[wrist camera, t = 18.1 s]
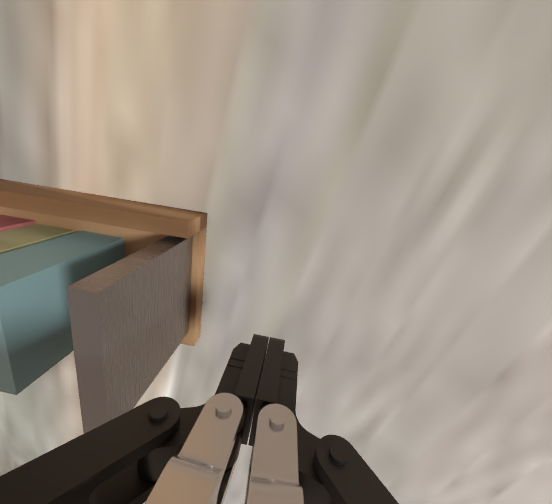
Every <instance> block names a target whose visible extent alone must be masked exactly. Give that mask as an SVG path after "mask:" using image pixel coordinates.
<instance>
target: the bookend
mask: <svg viewBox="0 0 552 504" xmlns="http://www.w3.org/2000/svg"><path fill="white" fill-rule="evenodd" d="M192 246H193V236H191V237H190V238H182V237H176V236H170V235H169V236H167V237H165V238H163V239H161V240H159V241H157V242H155V243H153V244H151V245H149V246H147V247H145V248H143V249H141V250H139V251H137V252H135V253H133V254H131V255H129V256H127V257H125V258H123V259H121V260H119V261H117V262H115V263H113V264H111V265H109V266H107V267H105V268H103V269H101V270H99V271H97V272H95V273H93V274H91V275H89V276H87V277H85V278H83V279H81V280H79V281H77V282H75V283H73V284H71V285H69V286H67V287H66V290H67V298H68V306H69V314H70V323H71V331H72V339H73V348H74V356H75V364H76V373H77V381H78V389H79V398H80V406H81V414H82V422H83V431H84V434H85V433H87V432H89V431H91V430H93V429H95V428H96V427H98V426H100V425H102V424H104V423H106V422H108V421H110V420H112V419H114V418H116V417H118V416H120V415H122V414H124V413H126V412H128V411H130V410H132V409H133V408H134V406H135V405H136V404H137V402H138V401H139V399H140V398H141V397H142V395H143V394H144V393H145V391H146V390H147V388H148V387H149V386H150V384H151V383H152V382H153V380H154V379H155V377H156V376H157V375H158V373H159V372H160V370H161V369H162V368H163V366H164V365H165V364H166V362H167V361H168V359H169V358H170V357H171V355H172V354H173V352H174V351H175V350H176V348H177V347H178V346H179V344H180V343H181V341H182V340H183V339H184V337H185V336H186V335H187V333H188V332H189V316H190V293H191V270H192Z"/></svg>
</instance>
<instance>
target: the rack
mask: <svg viewBox="0 0 552 504" xmlns="http://www.w3.org/2000/svg"><path fill="white" fill-rule="evenodd" d="M206 225H207V213H203V212H197V211H191V210H185V209H179V208H173V207H167V206H161V205H154V204H148V203H142V202H136V201H130V200H124V199H118V198H112V197H106V196H100V195H94V194H88V193H81V192H75V191H69V190H63V189H57V188H51V187H45V186H39V185H33V184H27V183H21V182H15V181H8V180H2V179H0V254H3V253H6V252H10V251H13V250H17V249H20V248H24V247H27V246H30V245H34V244H37V243H41V242H44V241H48V240H51V239H55V238H58V237H62V236H65V235H68V234H72V233H75V232H79V231H82V230H83V231H89V232H94V233H100V234H105V235H111V236H116V237H122V238H124V248H125V257H127V256H129V255H131V254H133V253H135V252H137V251H139V250H141V249H143V248H145V247H147V246H149V245H151V244H153V243H155V242H157V241H159V240H161V239H163V238H165V237H167V236H169V235H170V236H176V237H182V238H190V237H191V236H193V246H192V270H191V293H190V316H189V332H188V333H187V335H186V336H185V337H184V339H183V340H182V341H181V344H186V345H191V346H194V345H195V343H196V342H197V340H198V339H199V337H200V327H201V310H202V293H203V276H204V259H205V242H206Z"/></svg>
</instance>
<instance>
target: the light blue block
mask: <svg viewBox="0 0 552 504" xmlns="http://www.w3.org/2000/svg"><path fill="white" fill-rule="evenodd" d="M123 258H125V248H124V238H122V237H116V236H111V235H105V234H100V233H94V232H89V231H83V230H82V231H79V232H75V233H72V234H68V235H65V236H62V237H58V238H55V239H51V240H48V241H44V242H41V243H37V244H34V245H30V246H27V247H24V248H20V249H17V250H13V251H10V252H6V253H3V254H0V391H1V392H6V393H10V394H15V395H17V394H18V393H20V392H21V391H22V390H24V389H25V388H26V387H27V386H29V385H30V384H31V383H32V382H34V381H35V380H36V379H37V378H39V377H40V376H41V375H43V374H44V373H45V372H46V371H48V370H49V369H50V368H51V367H53V366H54V365H55V364H57V363H58V362H59V361H60V360H62V359H63V358H64V357H65V356H67V355H68V354H69V353H71V352H72V351H73V350H74V348H73V339H72V331H71V323H70V314H69V306H68V298H67V290H66V287H67V286H69V285H71V284H73V283H75V282H77V281H79V280H81V279H83V278H85V277H87V276H89V275H91V274H93V273H95V272H97V271H99V270H101V269H103V268H105V267H107V266H109V265H111V264H113V263H115V262H117V261H119V260H121V259H123Z"/></svg>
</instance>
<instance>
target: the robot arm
mask: <svg viewBox="0 0 552 504" xmlns="http://www.w3.org/2000/svg"><path fill="white" fill-rule="evenodd" d="M268 339H269V337H266V336H261V335H256V334H254V335H253V338H252V341H251V344H250V345H249V344H244V343H240V344H239V345H238V346H236V347H235V348H234V349H233V351H232V354H231V356H230V359H229V361H228V364H227V366H226V369H225V371H224V374H223V376H222V378H221V381H220V383H219V386H218V388H217V391H216V393H215V395H214V396H212V397H211V398H209V400H208V401H207V402H206V403H205V404H203V405H201V406H197V407H190V408H180V406H179V404H178V403H177V401H175V400H174V399H172V398H169V397H158V398H154V399H152V400H150V401H148V402H146V403H144V404H142V405H140V406H138V407H136V408H134V409H132V410H130V411H128V412H126V413H124V414H122V415H120V416H118V417H116V418H114V419H112V420H110V421H108V422H106V423H104V424H102V425H100V426H98V427H96V428H95V429H93V430H91V431H89V432H87V433H85V434H83V435H81V436H79V437H77V438H75V439H73V440H71V441H69V442H67V443H65V444H63V445H61V446H59V447H57V448H55V449H53V450H51V451H49V452H47V453H45V454H43V455H41V456H39V457H38V458H36V459H34V460H32V461H30V462H28V463H26V464H24V465H22V466H20V467H18V468H16V469H14V470H12V471H10V472H8V473H6V474H4V475H2V476H0V504H143V503H144V502H145V504H223V501H224V498H225V495H226V492H227V489H228V486H229V483H230V480H231V476H232V473H233V470H234V467H235V462H236V460H237V458H238V455H239V450H240V446H241V444H245V445H247V441H248V437H249V432H250V428H251V433H250V439H249V445H250V446H253V448H252V454H251V460H250V466H249V472H248V480H247V488H246V496H245V503H244V504H399V503H398V502H397V501H396V500H395V498H394V497H393V496H392V495H391V493H390V492H389V491H388V490H387V489H386V487H385V486H384V485H383V484H382V482H381V481H380V480H379V479H378V477H377V476H376V475H375V474H374V472H373V471H372V470H371V469H370V467H369V466H368V465H367V464H366V462H365V461H364V460H363V459H362V457H361V456H360V455H359V454H358V452H357V451H356V450H355V449H354V447H353V446H352V445H351V444H350V443H349V442H348V441H347V440H345V439H344V438H342V437H340V436H337V435H326V436H324V437H322V438H321V439H320V438H318V437H316V436H314V435H313V434H311V433H309V432H308V431H306V430H305V429H304V428H303V427H302V426H301V424H300V423H299V421H298V419H297V417H296V412H295V408H296V390H297V372H298V361H297V359H296V357H295V355H294V354H293V353H289V352H284V351H283V350H284V343H285V340H281V339H276V338H271V337H270V340H269V344H268ZM267 345H268V348H267ZM266 351H267V353H266ZM253 414H254V415H253ZM252 419H253V421H252ZM251 423H252V427H251Z"/></svg>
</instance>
